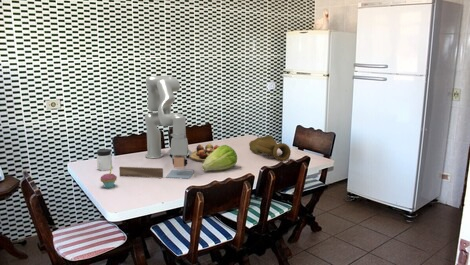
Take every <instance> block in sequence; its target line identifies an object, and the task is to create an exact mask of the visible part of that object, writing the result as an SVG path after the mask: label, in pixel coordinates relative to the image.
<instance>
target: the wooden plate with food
mask: <svg viewBox="0 0 470 265" xmlns="http://www.w3.org/2000/svg"><path fill="white" fill-rule="evenodd" d="M218 147H220V146H219V145H218V144H217V145H216V144H215V145H214V146H213V144H211V143H208V144H206V145H205V147H204V146H203V145H202V144H200V143H199V144H197V145H196V149H195V150H192V151H191V152H192V153H193V154H192V155H191V156H190V157H189V159H190V160H192V161H194V162H195V161H196V162H198V163H199V162H200V163H204V161H205V160H206V158H207V157H208V156H209V155H210V154H211V153H212V152H213V151H214V150H215V149H217V148H218Z"/></svg>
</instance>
